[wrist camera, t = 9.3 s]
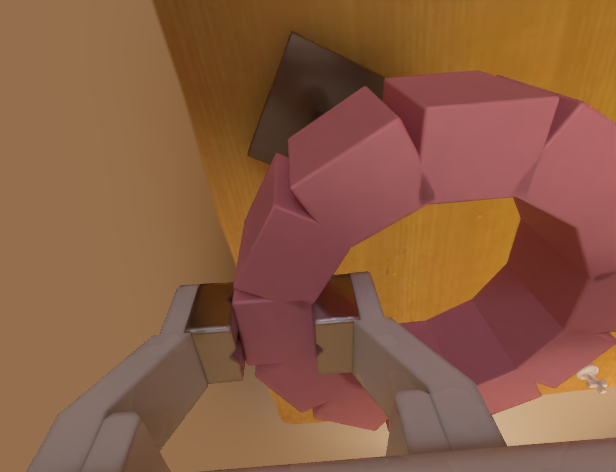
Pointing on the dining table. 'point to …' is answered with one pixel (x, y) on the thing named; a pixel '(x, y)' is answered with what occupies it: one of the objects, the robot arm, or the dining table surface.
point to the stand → (306, 93)
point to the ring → (433, 190)
